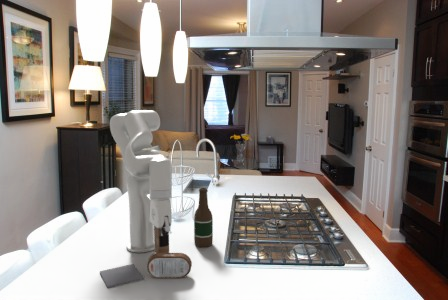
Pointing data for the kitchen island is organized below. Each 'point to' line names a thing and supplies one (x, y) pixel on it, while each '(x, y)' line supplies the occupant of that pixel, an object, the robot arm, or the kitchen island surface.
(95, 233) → the kitchen island surface
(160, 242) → the robot arm
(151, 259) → the tin
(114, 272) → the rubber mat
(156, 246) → the walnut block
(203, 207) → the beer bottle
